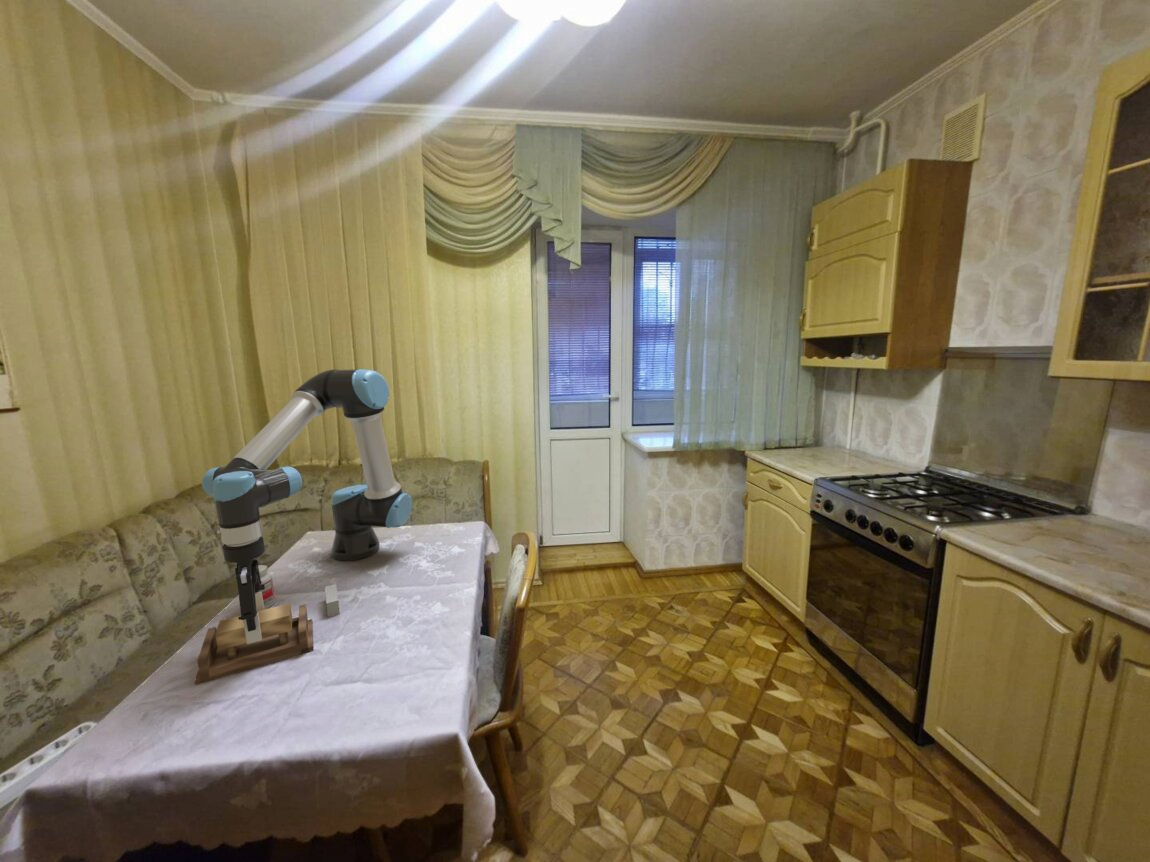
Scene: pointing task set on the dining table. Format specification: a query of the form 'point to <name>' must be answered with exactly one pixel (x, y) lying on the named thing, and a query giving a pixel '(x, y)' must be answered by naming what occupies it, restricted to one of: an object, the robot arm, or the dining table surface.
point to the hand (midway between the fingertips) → (256, 628)
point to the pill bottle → (266, 586)
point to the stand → (332, 600)
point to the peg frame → (253, 650)
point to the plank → (270, 625)
